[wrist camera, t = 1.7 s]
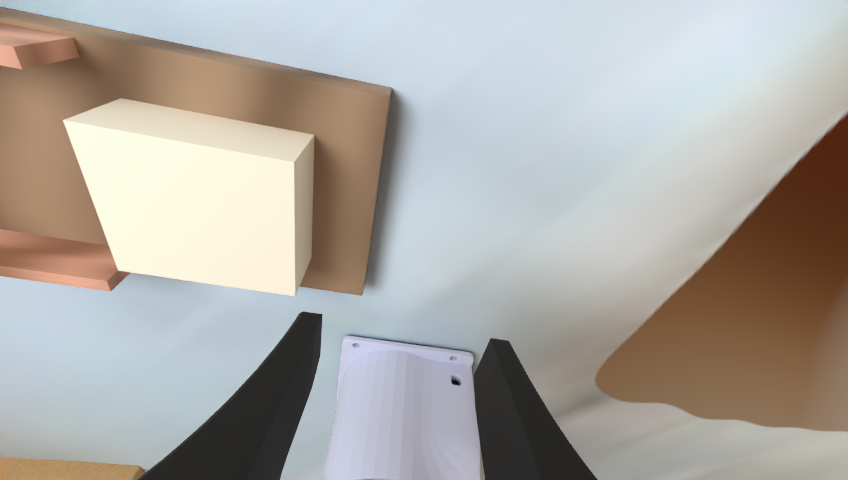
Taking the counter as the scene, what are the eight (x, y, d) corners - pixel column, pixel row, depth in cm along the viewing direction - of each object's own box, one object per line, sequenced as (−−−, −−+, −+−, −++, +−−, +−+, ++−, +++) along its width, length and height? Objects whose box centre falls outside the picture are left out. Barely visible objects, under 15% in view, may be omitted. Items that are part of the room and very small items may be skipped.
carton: (314, 134, 16) (294, 162, 14) (311, 258, 20) (295, 296, 18) (121, 98, 15) (62, 120, 13) (157, 233, 19) (118, 270, 17)
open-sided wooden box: (392, 88, 16) (382, 114, 13) (365, 278, 23) (355, 328, 20) (-171, -29, 14) (-349, -32, 11) (-24, 219, 21) (-109, 263, 18)
